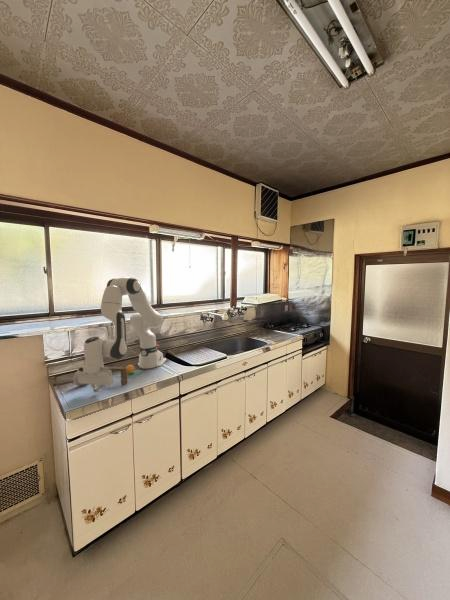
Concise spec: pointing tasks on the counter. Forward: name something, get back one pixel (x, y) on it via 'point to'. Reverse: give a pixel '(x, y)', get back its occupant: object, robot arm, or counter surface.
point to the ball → (130, 369)
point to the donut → (76, 379)
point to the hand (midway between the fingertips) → (96, 391)
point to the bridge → (123, 373)
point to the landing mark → (132, 374)
